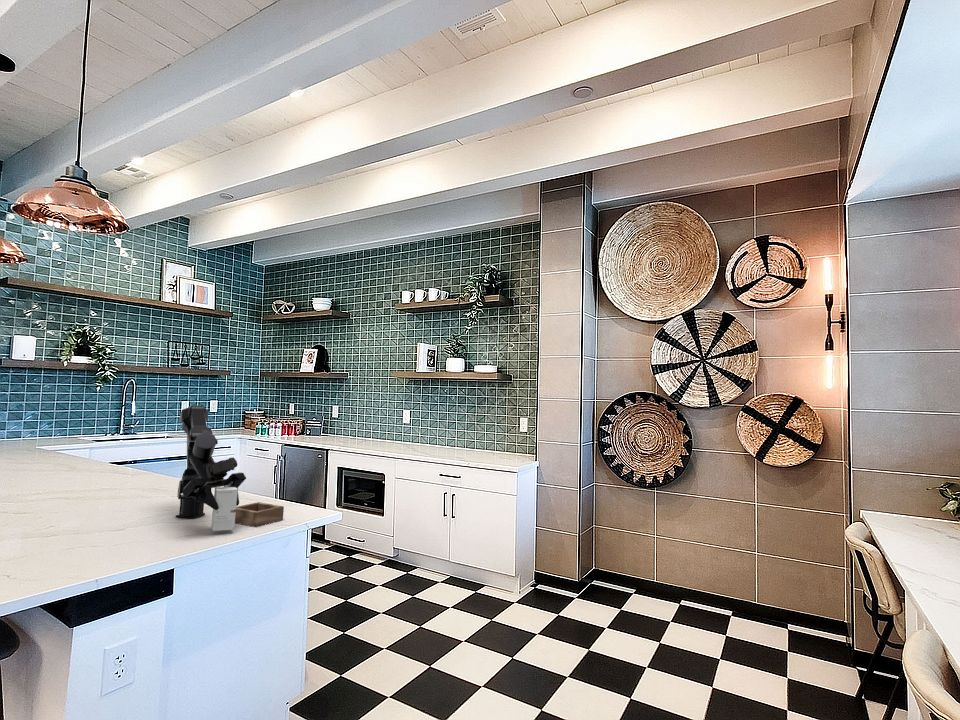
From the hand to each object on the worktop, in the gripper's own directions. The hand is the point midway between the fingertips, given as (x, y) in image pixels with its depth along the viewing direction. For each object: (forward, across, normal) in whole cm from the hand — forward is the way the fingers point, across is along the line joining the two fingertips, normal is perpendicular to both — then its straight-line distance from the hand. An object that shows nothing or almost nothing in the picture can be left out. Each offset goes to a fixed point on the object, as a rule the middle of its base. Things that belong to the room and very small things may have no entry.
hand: (228, 507), depth 163 cm
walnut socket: (+3, +16, +8) cm, 18 cm away
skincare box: (+4, 0, +6) cm, 7 cm away
